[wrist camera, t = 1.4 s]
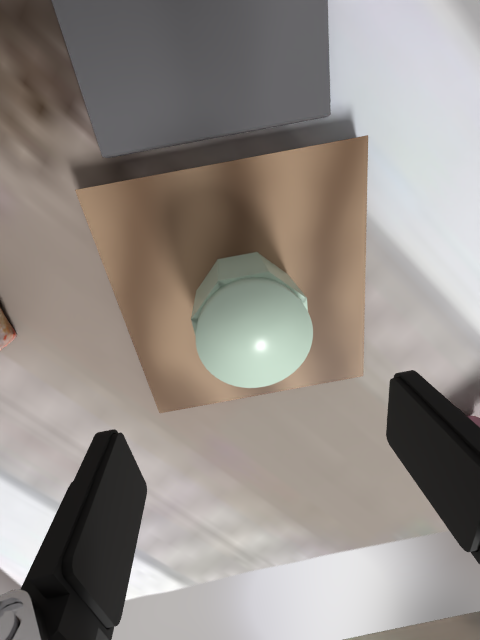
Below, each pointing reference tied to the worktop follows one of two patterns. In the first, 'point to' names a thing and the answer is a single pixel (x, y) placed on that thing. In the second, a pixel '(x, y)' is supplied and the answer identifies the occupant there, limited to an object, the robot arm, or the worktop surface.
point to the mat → (195, 67)
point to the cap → (250, 322)
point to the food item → (5, 331)
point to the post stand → (232, 240)
